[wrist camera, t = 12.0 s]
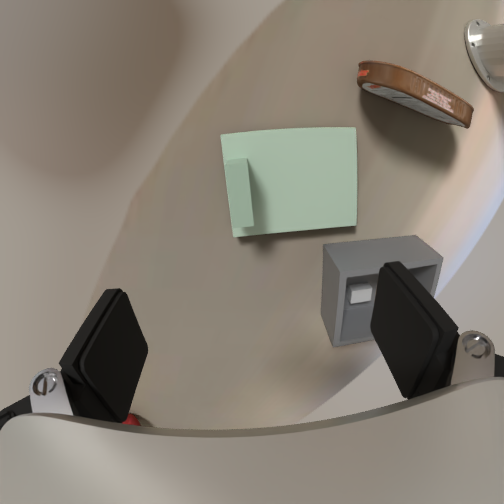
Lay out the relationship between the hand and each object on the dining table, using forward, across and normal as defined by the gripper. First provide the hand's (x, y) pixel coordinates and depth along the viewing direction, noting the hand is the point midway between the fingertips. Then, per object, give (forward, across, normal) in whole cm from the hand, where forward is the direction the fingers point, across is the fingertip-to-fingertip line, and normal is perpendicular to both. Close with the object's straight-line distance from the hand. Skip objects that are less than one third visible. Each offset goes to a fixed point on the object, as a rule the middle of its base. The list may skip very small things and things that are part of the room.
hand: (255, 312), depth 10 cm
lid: (+24, -5, 0) cm, 24 cm away
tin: (+24, -20, -10) cm, 32 cm away
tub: (+23, -16, +14) cm, 31 cm away
